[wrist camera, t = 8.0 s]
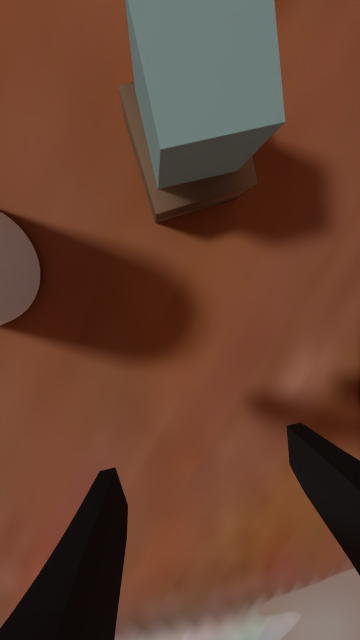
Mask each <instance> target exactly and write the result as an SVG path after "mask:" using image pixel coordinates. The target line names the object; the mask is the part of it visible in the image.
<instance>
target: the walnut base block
mask: <svg viewBox="0 0 360 640" xmlns="http://www.w3.org/2000/svg"><path fill="white" fill-rule="evenodd" d="M118 89H119V94H120V99H121V103H122V108H123V113H124V118H125V122H126V127H127V130H128V134H129V137H130V140H131V144H132V147H133V150H134V153H135V157H136V160H137V163H138V167H139V170H140V173H141V177H142V180H143V183H144V187H145V190H146V193H147V197H148V200H149V203H150V206H151V210H152V213H153V216H154V220H155V223H158V222H161V221H165V220H168V219H171V218H174V217H178V216H181V215H184V214H187V213H191V212H194V211H197V210H201V209H204V208H207V207H210V206H214V205H217V204H220V203H224V202H227V201H230V200H233V199H236V198H238V197H239V196H240V195H242V194H243V193H245V192H246V191H248V190H249V189H250V188H252V187H253V186H255V185H256V184H258V181H257V176H256V170H255V165H254V159H253V155H252V156H251V157H250V158H249V159H248V161H247V162H246V163H245V164H244V165H243V166H242V167H241V168H240V169H239V170H238V171H235V172H231V173H226V174H222V175H218V176H213V177H209V178H204V179H200V180H196V181H191V182H187V183H182V184H178V185H174V186H169V187H165V188H161V189H158V187H157V183H156V178H155V174H154V170H153V165H152V161H151V157H150V152H149V148H148V144H147V139H146V135H145V131H144V126H143V122H142V118H141V113H140V109H139V105H138V100H137V96H136V91H135V84H134V82H131V83H127V84H124V85H120V86H118Z"/></svg>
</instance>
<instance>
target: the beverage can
mask: <svg viewBox="0 0 360 640" xmlns="http://www.w3.org/2000/svg"><path fill="white" fill-rule="evenodd" d="M39 284H40V266H39V261H38V257H37V254H36V252H35V249H34V247H33V245H32V243H31V242H30V240H29V238H28V237H27V236H26V234H25V233H24V232H23V230H22V229H21V228H20V227H19V226H18V225H17V224H16V223H15V222H14V221H13V220H11V219H10V218H9V217H8V216H6V215H5V214H3V213H2V212H0V326H1V325H3V324H5V323H7V322H10V321H12V320H14V319H16V318H17V317H19V316H20V315H22V314H23V313H24V312H25V311H26V310H27V309H28V308H29V307H30V305H31V304H32V303H33V301H34V299H35V297H36V295H37V292H38V289H39Z"/></svg>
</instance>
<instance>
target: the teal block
mask: <svg viewBox="0 0 360 640" xmlns="http://www.w3.org/2000/svg"><path fill="white" fill-rule="evenodd" d="M125 3H126V12H127V21H128V30H129V39H130V48H131V57H132V66H133V75H134V84H135V91H136V96H137V100H138V105H139V109H140V113H141V118H142V122H143V126H144V131H145V135H146V139H147V144H148V148H149V152H150V157H151V161H152V165H153V170H154V174H155V178H156V183H157V187H158V189H161V188H165V187H169V186H174V185H178V184H182V183H187V182H191V181H196V180H200V179H204V178H209V177H213V176H218V175H222V174H226V173H231V172H235V171H238V170H239V169H240V168H241V167H242V166H243V165H244V164H245V163H246V162H247V161H248V159H249V158H250V157H251V156H252V155H253V154H254V153H255V152H256V151H257V150H258V149H259V148H260V147H261V146H262V145H263V144H264V143H265V142H266V141H267V140H268V139H269V138H270V137H271V136H272V135H273V134H274V133H275V132H276V131H277V130H278V129H279V128H280V127H281V126H282V125H283V124H284V123H285V115H284V104H283V92H282V81H281V70H280V59H279V48H278V37H277V26H276V15H275V3H274V0H125Z"/></svg>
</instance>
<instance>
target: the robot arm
mask: <svg viewBox="0 0 360 640" xmlns="http://www.w3.org/2000/svg"><path fill="white" fill-rule="evenodd" d="M287 436H288V449H289V462H290V466H291V468H292V470H293V472H294V474H295V476H296V478H297V480H298V481H299V483H300V485H301V487H302V489H303V490H304V492H305V494H306V495H307V497H308V498H309V500H310V501H311V503H312V504H313V506H314V507H315V509H316V510H317V512H318V513H319V515H320V516H321V518H322V519H323V521H324V522H325V524H326V525H327V527H328V528H329V530H330V531H331V533H332V534H333V535H334V537H335V538H336V540H337V541H338V543H339V544H340V546H341V547H342V549H343V550H344V552H345V553H346V555H347V556H348V558H349V559H350V561H351V562H352V564H353V566H354V567H355V569H356V570H357V572H358V573H359V575H360V461H359V460H358V459H356V458H354V457H353V456H351V455H350V454H348V453H346V452H345V451H343V450H342V449H340V448H338V447H337V446H335V445H334V444H332V443H331V442H329V441H328V440H326V439H325V438H323V437H322V436H320V435H319V434H317V433H316V432H314V431H313V430H311V429H310V428H308V427H306V426H305V425H303V424H302V423H298V424H293V425H289V426H287ZM127 517H128V504H127V501H126V498H125V495H124V492H123V489H122V486H121V483H120V480H119V477H118V474H117V471H116V468H111V469H107V470H103V471H100V472H99V474H98V475H97V477H96V479H95V481H94V482H93V484H92V486H91V488H90V490H89V492H88V493H87V495H86V497H85V499H84V501H83V502H82V504H81V506H80V508H79V509H78V511H77V513H76V515H75V516H74V518H73V520H72V521H71V523H70V525H69V526H68V528H67V530H66V532H65V533H64V535H63V537H62V538H61V540H60V541H59V543H58V545H57V546H56V548H55V549H54V551H53V553H52V554H51V556H50V557H49V559H48V560H47V562H46V564H45V565H44V567H43V568H42V570H41V571H40V573H39V574H38V576H37V577H36V579H35V580H34V582H33V583H32V585H31V586H30V588H29V589H28V591H27V592H26V593H25V595H24V596H23V598H22V599H21V601H20V602H19V603H18V605H17V606H16V608H15V609H14V610H13V612H12V613H11V615H10V616H9V617H8V619H7V620H6V621H5V623H4V624H3V625H2V627H1V628H0V640H114V638H115V628H116V619H117V611H118V603H119V596H120V588H121V580H122V572H123V564H124V556H125V548H126V540H127Z"/></svg>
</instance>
